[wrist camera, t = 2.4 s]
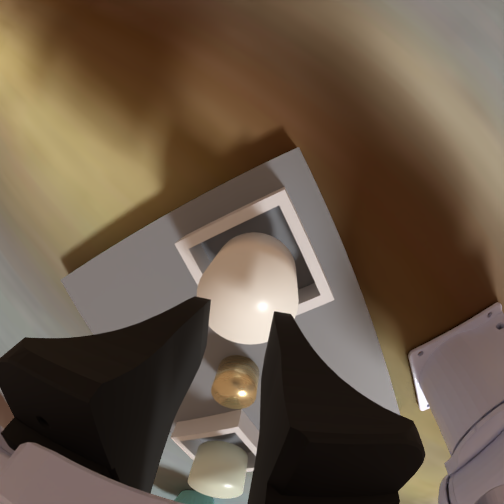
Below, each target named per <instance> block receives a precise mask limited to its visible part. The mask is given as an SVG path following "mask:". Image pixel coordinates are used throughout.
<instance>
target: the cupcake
mask: <svg viewBox="0 0 504 504" xmlns="http://www.w3.org/2000/svg"><path fill="white" fill-rule="evenodd" d="M174 501H176V502H180V503H184V504H214V500H213V498H212V497H210V496H207V495H204V494H202V493H199V492H197V491H193V490H184V491H182V492H181V493H180V494H179V495H178V496H177V498H176V499H175V500H174Z"/></svg>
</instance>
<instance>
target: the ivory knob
mask: <svg viewBox="0 0 504 504" xmlns="http://www.w3.org/2000/svg"><path fill="white" fill-rule="evenodd" d="M197 297H201V298H206V299H211V305H210V315H209V325H208V326H209V327H210V328H211V329H212V330H213V331H214V332H216V333H217V334H218V335H220V336H221V337H223V338H225V339H227V340H230V341H232V342H236V343H240V344H250V345H251V344H261V343H265V342H268V338H269V333H270V328H271V323H272V319H273V314H274V311H276V312H282V313H288V314H291V315H292V316H293V318H294V319H295V316H296V314H297V310H298V302H299V299H298V287H297V275H296V265H295V261H294V258H293V256H292V254H291V252H290V251H289V250H288V248H287V247H286V246H285V245H284V244H283V243H282V242H281V241H279V240H278V239H276V238H275V237H273V236H270V235H267V234H264V233H258V232H251V233H244V234H241V235H238V236H236V237H234V238H232V239H231V240H229V241H228V242H227V243H226V244H225V245H224V246H223V247H222V248H221V250H220V251H219V252H218V254H217V255H216V257H215V258H214V259H213V261H212V262H211V263H210V265H209V266H208V268H207V269H206V270H205V272H204V273H203V275H202V277H201V278H200V281H199V284H198V288H197Z"/></svg>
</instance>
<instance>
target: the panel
mask: <svg viewBox="0 0 504 504" xmlns="http://www.w3.org/2000/svg"><path fill="white" fill-rule="evenodd" d="M251 232H258V233H264V234H267V235H270V236H273V237H275V238H276V239H278V240H279V241H281V242H282V243H283V244H284V245H285V246H286V247H287V248H288V250H289V251H290V252H291V254H292V256H293V258H294V261H295V265H296V275H297V287H298V299H299V302H298V310H297V314H296V316H295V321H296V323H297V325H298V326H299V328H300V330H301V331H302V333H303V335H304V336H305V338H306V339H307V340H308V342H309V343H310V345H311V346H312V348H313V349H314V350H315V351H316V353H317V354H318V355H319V356H320V358H321V359H322V360H323V361H324V362H325V363H326V364H327V365H328V366H329V367H330V368H331V369H332V370H333V371H334V372H335V373H336V374H337V375H338V376H339V377H340V378H341V379H343V380H344V381H345V382H346V383H348V384H349V385H350V386H351V387H353V388H354V389H355V390H357V391H358V392H359V393H361V394H362V395H364V396H365V397H367V398H368V399H370V400H372V401H373V402H375V403H377V404H379V405H380V406H382V407H384V408H386V409H388V410H390V411H392V412H394V413H396V414H398V415H400V412H399V409H398V405H397V401H396V397H395V394H394V390H393V387H392V383H391V380H390V376H389V373H388V370H387V366H386V363H385V360H384V357H383V353H382V350H381V347H380V344H379V341H378V338H377V335H376V332H375V329H374V326H373V323H372V320H371V317H370V314H369V311H368V309H367V306H366V303H365V300H364V298H363V295H362V292H361V289H360V287H359V284H358V281H357V279H356V276H355V274H354V271H353V268H352V266H351V263H350V261H349V258H348V256H347V253H346V251H345V248H344V246H343V243H342V241H341V239H340V236H339V234H338V231H337V229H336V227H335V224H334V222H333V220H332V217H331V215H330V213H329V211H328V208H327V206H326V204H325V202H324V199H323V197H322V195H321V193H320V191H319V188H318V186H317V184H316V182H315V180H314V178H313V176H312V173H311V171H310V169H309V167H308V165H307V163H306V161H305V159H304V157H303V155H302V153H301V151H300V149H299V147H298V148H295V149H293V150H291V151H289V152H287V153H284V154H282V155H280V156H278V157H276V158H274V159H272V160H270V161H268V162H265V163H263V164H261V165H259V166H257V167H255V168H253V169H251V170H249V171H247V172H245V173H243V174H241V175H239V176H237V177H235V178H233V179H231V180H229V181H227V182H225V183H223V184H221V185H220V186H218V187H216V188H214V189H212V190H210V191H208V192H206V193H204V194H202V195H201V196H199V197H197V198H195V199H193V200H191V201H189V202H188V203H186V204H184V205H182V206H180V207H179V208H177V209H175V210H173V211H171V212H170V213H168V214H166V215H164V216H163V217H161V218H159V219H157V220H156V221H154V222H152V223H150V224H149V225H147V226H145V227H144V228H142V229H140V230H138V231H137V232H135V233H133V234H132V235H130V236H128V237H127V238H125V239H123V240H122V241H120V242H119V243H117V244H115V245H114V246H112V247H110V248H109V249H107V250H106V251H104V252H102V253H101V254H99V255H98V256H96V257H95V258H93V259H91V260H90V261H88V262H87V263H85V264H84V265H82V266H81V267H79V268H78V269H76V270H75V271H73V272H72V273H70V274H69V275H67V276H66V277H64V278H63V279H61V281H62V283H63V285H64V287H65V289H66V290H67V292H68V294H69V296H70V298H71V299H72V301H73V303H74V304H75V306H76V308H77V309H78V311H79V313H80V314H81V316H82V318H83V319H84V321H85V322H86V324H87V325H88V327H89V329H90V330H91V332H92V333H93V335H95V334H100V333H105V332H110V331H115V330H118V329H122V328H125V327H128V326H131V325H134V324H137V323H140V322H142V321H145V320H147V319H149V318H152V317H154V316H156V315H158V314H161V313H163V312H165V311H167V310H169V309H171V308H173V307H175V306H177V305H178V304H180V303H182V302H184V301H186V300H188V299H190V298H192V297H194V296H196V297H197V288H198V284H199V281H200V278H201V277H202V275H203V273H204V272H205V270H206V269H207V268H208V266H209V265H210V263H211V262H212V261H213V259H214V258H215V257H216V255H217V254H218V252H219V251H220V250H221V248H222V247H223V246H224V245H225V244H226V243H227V242H228V241H229V240H231V239H232V238H234V237H236V236H238V235H241V234H244V233H251ZM266 347H267V342H265V343H261V344H251V345H250V344H240V343H236V342H232V341H230V340H227V339H225V338H223V337H221V336H220V335H218V334H217V333H216V332H214V331H213V330H212V329H211V328H210V327H209V326H208V336H207V346H206V349H205V352H204V356H203V359H202V362H201V364H200V367H199V369H198V371H197V373H196V375H195V377H194V380H193V382H192V384H191V386H190V388H189V390H188V391H187V393H186V395H185V397H184V399H183V401H182V403H181V405H180V407H179V409H178V412H177V414H176V416H175V418H174V421H173V424H172V427H171V429H170V432H171V433H172V436H171V438H172V439H173V441H174V442H175V443H176V444H177V445H178V446H179V447H180V448H181V449H182V450H183V451H184V452H185V453H186V454H188V455H189V456H190V457H191V458H192V459H193V460H194V459H195V455H196V452H197V449H198V447H199V445H200V444H202V443H204V442H207V441H224V442H228V443H232V444H234V445H237V446H239V447H240V448H242V449H243V450H244V451H245V452H246V453H247V455H248V463H247V470H246V472H250V471H254V465H255V458H256V452H257V446H258V439H259V428H260V396H261V376H262V369H263V363H264V356H265V352H266ZM233 355H239V356H244V357H247V358H249V359H251V360H252V361H254V362H255V363H256V365H257V366H258V368H259V380H258V387H257V394H256V399H255V401H254V403H253V404H252V405H250V406H249V407H247V408H243V409H231V408H227V407H224V406H222V405H221V404H219V403H218V402H217V401H216V400H215V399H214V398H213V396H212V393H211V388H212V385H213V382H214V379H215V376H216V373H217V370H218V367H219V364H220V362H221V361H222V360H223V359H224V358H226V357H229V356H233Z"/></svg>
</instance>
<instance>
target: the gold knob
mask: <svg viewBox="0 0 504 504" xmlns="http://www.w3.org/2000/svg"><path fill="white" fill-rule="evenodd" d="M258 380H259V368H258V366H257V365H256V363H255V362H254V361H252V360H251V359H249V358H247V357H244V356H239V355H233V356H229V357H226V358H224V359H223V360H222V361H221V362H220V364H219V367H218V370H217V373H216V376H215V379H214V382H213V385H212V388H211V393H212V396H213V398H214V399H215V400H216V401H217V402H218V403H219V404H221V405H222V406H224V407H227V408H231V409H243V408H247V407H249V406H250V405H252V404H253V403H254V401H255V399H256V394H257V387H258Z"/></svg>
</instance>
